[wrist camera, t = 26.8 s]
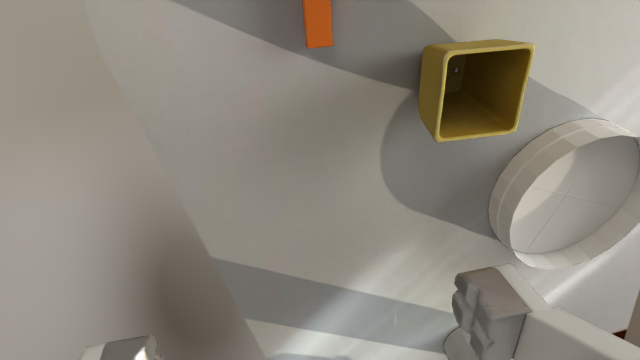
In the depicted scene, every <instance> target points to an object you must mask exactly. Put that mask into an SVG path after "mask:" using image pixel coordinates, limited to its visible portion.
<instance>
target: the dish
mask: <svg viewBox="0 0 640 360" xmlns="http://www.w3.org/2000/svg"><path fill="white" fill-rule="evenodd" d="M488 213H489V222H490V226H491V227H492V229H493V231H494V233H495V235H496V236H497V237H498V238H499V239H500V241H501V242H502V243H503V244H504V245H505V246H506V247H508V248H509V249H510V250H511V251H512V252H513V253H514V254H515V255H516V256H517V257H518V258H519V259H520V260H521V261H523V262H524V263H525V264H527V265H529V266H532V267H535V268H539V269H560V268H565V267H570V266H574V265H577V264H580V263H582V262H585V261H588V260H590V259H592V258H594V257H596V256H598V255H599V254H601V253H603V252H605V251H606V250H608V249H610V248H611V247H612V246H614V245H615V244H616V243H617V242H619V241H620V240H621V239H623V238H624V237H625V236H626V235H627V234H628V233H629V232H630V231H631V230H632V229H633V228H634V227H635V226H636V225H637V224H638V223H639V222H640V137H637V136H635V135H634V134H633V133H631V132H629V131H627V130H626V129H624V128H622V127H620V126H618V125H616V124H614V123H612V122H610V121H607V120H599V119H592V118H589V119H583V120H576V121H570V122H568V123H565V124H562V125H560V126H557V127H555V128H552V129H550V130H548V131H547V132H545V133H543V134H542V135H540V136H539V137H537V138H536V139H534V140H533V141H531V142H530V143H528V144H527V145H526V146H525V147H524V148H523V149H522V150H521V151H520V152H519V153H518V154H517V155H515V156H514V157H513V158H512V160H511V161H510V162H509V164H508V165H507V166H506V168H505V169H504V170H503V172H502V173H501V174H500V176H499V178H498V180H497V182H496V184H495V186H494V189H493V191H492V193H491V198H490V203H489V208H488Z"/></svg>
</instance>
